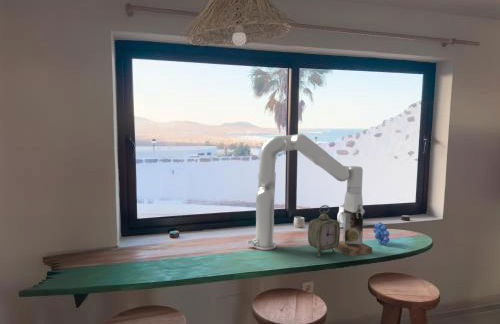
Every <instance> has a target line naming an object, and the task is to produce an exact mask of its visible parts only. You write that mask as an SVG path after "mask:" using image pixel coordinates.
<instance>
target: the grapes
mask: <svg viewBox="0 0 500 324" xmlns="http://www.w3.org/2000/svg"><path fill="white" fill-rule="evenodd" d="M373 233H374V238H375V240H377V242H378V244H379V245H383V246H387V244H388V243H390V237H389V236H390V232H389V230H388V227H387V226H386V225H385V224H383V223H382V222H381V221H380V222H378V223H375V224H374V228H373Z"/></svg>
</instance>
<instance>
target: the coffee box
mask: <svg viewBox="0 0 500 324" xmlns="http://www.w3.org/2000/svg"><path fill="white" fill-rule="evenodd" d="M358 215H359V213H358ZM356 218H357V217H356V214H355V213H352V212H349V211H344V217H343V226H342V241H344V243H349V244H362V243H363V234H364V233H363V231H364V230H363V229H364V228H363V227H364V215H363V216H362V219H361V225H359V226H356V225H355V221H356Z"/></svg>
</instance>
